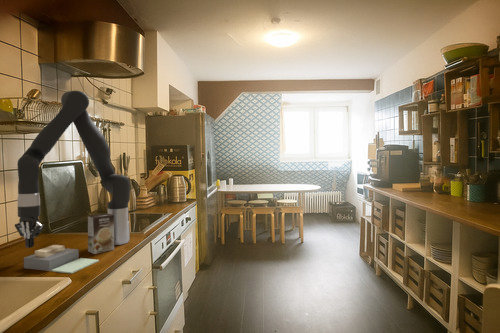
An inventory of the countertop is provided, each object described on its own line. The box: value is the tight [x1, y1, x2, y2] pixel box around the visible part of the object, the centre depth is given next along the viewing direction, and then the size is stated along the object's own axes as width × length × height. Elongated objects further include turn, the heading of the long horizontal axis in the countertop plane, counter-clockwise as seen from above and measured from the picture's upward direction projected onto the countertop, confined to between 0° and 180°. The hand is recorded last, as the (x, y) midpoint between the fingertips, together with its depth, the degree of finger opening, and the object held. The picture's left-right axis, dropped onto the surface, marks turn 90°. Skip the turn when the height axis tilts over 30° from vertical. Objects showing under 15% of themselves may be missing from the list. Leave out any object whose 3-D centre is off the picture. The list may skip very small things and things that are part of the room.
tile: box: [34, 244, 66, 257], centre depth 126 cm, size 9×5×2 cm, turn 165°
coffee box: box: [87, 213, 115, 255], centre depth 142 cm, size 9×6×16 cm
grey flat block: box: [23, 247, 80, 272], centre depth 125 cm, size 14×12×4 cm
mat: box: [51, 257, 100, 274], centre depth 123 cm, size 14×9×1 cm, turn 165°
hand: (29, 247), depth 128 cm, fingers closed
